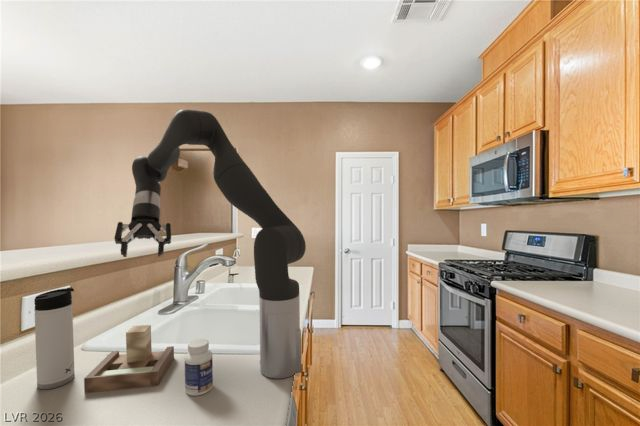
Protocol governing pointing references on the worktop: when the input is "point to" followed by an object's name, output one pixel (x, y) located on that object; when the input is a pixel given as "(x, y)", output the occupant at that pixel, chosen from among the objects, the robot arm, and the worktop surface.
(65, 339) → the travel mug
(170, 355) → the box
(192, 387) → the pill bottle
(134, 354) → the birch block
